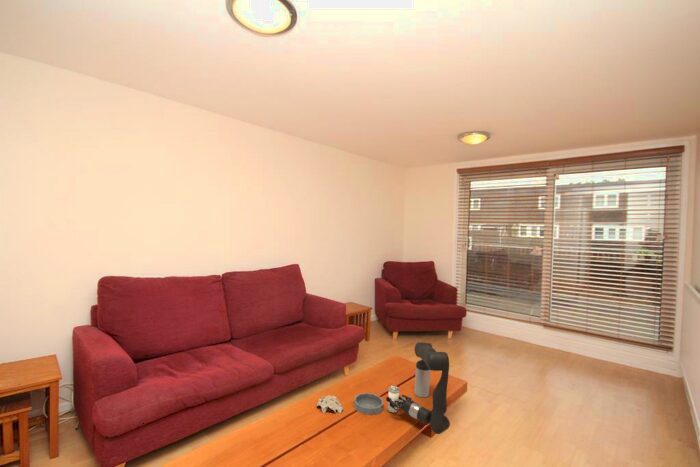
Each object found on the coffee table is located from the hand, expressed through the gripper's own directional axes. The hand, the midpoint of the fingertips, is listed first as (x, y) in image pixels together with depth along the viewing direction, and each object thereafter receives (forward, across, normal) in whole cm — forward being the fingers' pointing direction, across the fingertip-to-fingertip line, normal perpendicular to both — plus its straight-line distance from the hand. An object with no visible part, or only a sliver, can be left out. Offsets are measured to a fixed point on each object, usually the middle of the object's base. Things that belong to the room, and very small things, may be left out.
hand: (390, 396), depth 192 cm
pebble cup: (-2, 0, +6) cm, 7 cm away
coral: (+22, +28, +8) cm, 37 cm away
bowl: (+9, +8, +7) cm, 14 cm away
